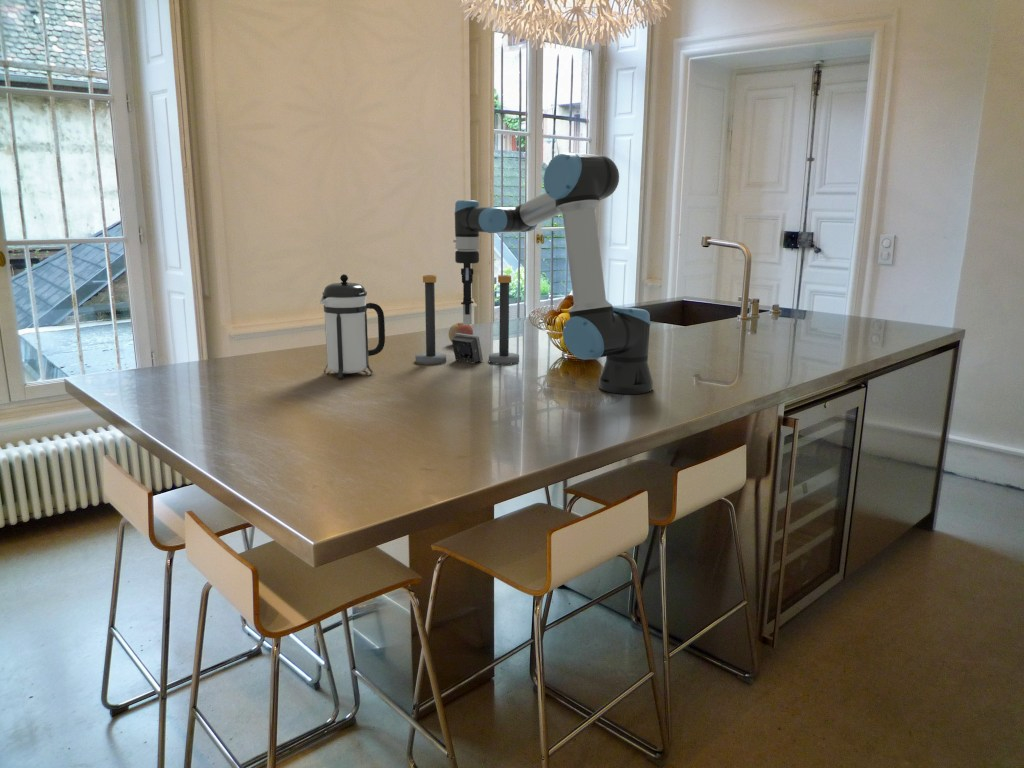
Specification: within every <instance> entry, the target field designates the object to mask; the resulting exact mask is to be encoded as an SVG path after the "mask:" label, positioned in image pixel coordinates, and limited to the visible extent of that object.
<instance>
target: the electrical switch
mask: <svg viewBox="0 0 1024 768" xmlns="http://www.w3.org/2000/svg"><path fill="white" fill-rule="evenodd" d="M451 344H452V348H453V349H452V350H453V353H454V357H455V358H454V359H455V361H456V360H460V361H459V362H462V361H468V362H474V363H473V364H476V363H479V362H478V361H481V362H483V361H484V359H483V352H482V348H481V347H482V346H481V342H480V336H479V335H476V334H473V335H469V334H461V333H456V334H455V337H454V339H452V342H451ZM468 362H467V363H468ZM475 362H476V363H475Z"/></svg>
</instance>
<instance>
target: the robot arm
mask: <svg viewBox="0 0 1024 768" xmlns="http://www.w3.org/2000/svg"><path fill="white" fill-rule="evenodd" d="M619 182H620V172H619V168H618V166H617V165H616V163H615V162H614V161H613V160H612V159H611V158H610V157H608V156H606V155H602V154H592V153H579V152H573V151H572V152H567V153H566V152H562V153H559V154H557V155H555V156H553V157H552V158H551V159H550V161H549V162H548V165H547V166H546V167H545V170H544V174H543V188H544V191H545V192H544V193H542V194H540V195H538V196H536V197H534V198H532V199H530V200H527V201H526V202H523V203H521V204H520V205H517V206H512V207H511V206H505V207H504V206H503V207H502V206H500V207H499V206H498V207H497V206H483V207H482V206H480V202H479V201H478V200H470V199H469V200H466V199H460V200H456V201H455V204H454V206H455V207H454V235H455V237H454V239H453V241H452V242H453V243H455V248H454V249H456V250H455V252H454V254H455V255H454V261H455V263H457V264H463V268H460V274H461V283H462V285H463V287H462V288H463V294H462V295H463V298H462V302H461V303H460V305H462V317H463V318H462V320H463V321H462V323H463V324H469V325H472V323H473V322H472V319H473V318H472V317H473V316H472V313H473V312H472V311H473V310H472V309H473V308H472V304H474V301H473V300H472V284H473V281H474V280H473V279H474V278H473V276H474V267H473V268H472V267H471V265H472V264H478V263H479V262H480V251H479V249H480V234H479V233H487V234H498V233H509V232H510V233H515V232H516V233H519V232H520V233H525V232H531V231H534V230H535V229H536V227H538V225H539V224H541V223H544V222H545V221H548V220H550V219H552V218H554V217H556V216H559V215H561V214H562V219H563V228H564V236H565V242H566V243H565V244H566V252H567V259H568V267H569V274H570V275H569V276H570V281H571V282H570V283H571V291H572V299H573V304H572V307H571V308H570V309H569V319H568V320H567V321H566V322H565V323H564V326H563V327H562V328H563V329H562V338H563V341H564V342H563V343H564V344H565V347H566V348H567V350H568V351H569V352H570V353H571V354H572V355H573V356H574V357H575V358H577V359H580V360H584V361H585V360H598V359H599V358H604V357H606V358H605V363H604V365H603V369H602V370H601V374H600V376H599V378H598V387H599V389H600V390H602V391H604V392H606V393H607V392H608V393H613V394H618V395H619V394H620V395H621V394H622V395H639V394H641V393H642V394H647V393H650V392H651V390H653V389H654V387H653V386H654V380H653V377H652V373H651V369H650V366H649V362H648V361H649V359H648V358H649V345H650V330H651V329H650V327H651V317H650V316H651V314H650V312H649V311H648V310H646V309H642V308H636V307H628V306H619V305H613V304H612V303H611V302H609V301H608V300H607V298H606V291H605V281H604V273H603V265H602V256H601V249H600V241H599V231H598V224H597V216H596V208H597V207H598V206H599V204H600V203H601V201H602V200H605V199H607V198H608V197H610V196H611V195H612V194H614V193H615V191H616V189H617V188H618V186H619ZM649 391H650V392H649Z"/></svg>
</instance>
